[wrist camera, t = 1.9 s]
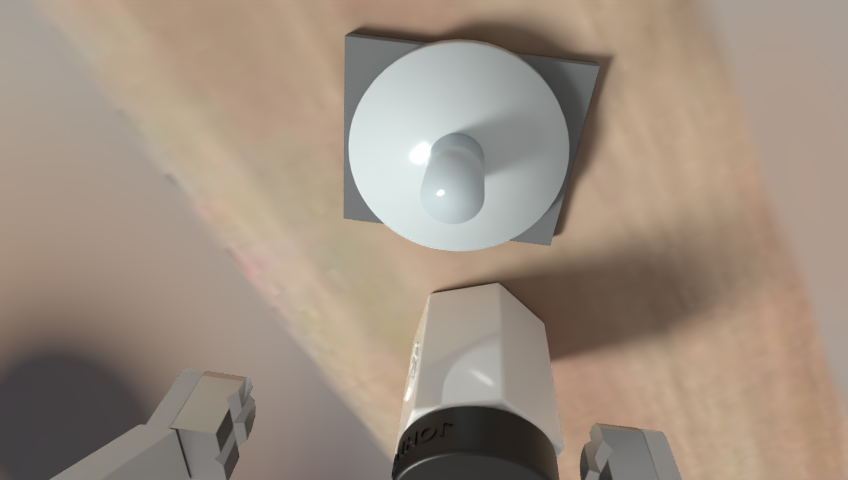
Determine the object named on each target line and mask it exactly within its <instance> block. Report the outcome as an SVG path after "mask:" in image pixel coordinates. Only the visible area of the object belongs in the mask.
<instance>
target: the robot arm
mask: <svg viewBox="0 0 848 480" xmlns="http://www.w3.org/2000/svg"><path fill="white" fill-rule="evenodd" d="M252 388H253V386H252V382H251V378H248V377H242V376H236V375H229V374H223V373H216V372H210V371H204V370H197V369H190V368H187V369H185V370H184V371H183V372H182V373H181V374H180V375H179V376H178V378H177V379H176V381H175V382H174V384H173V385H172V387H171V388H170V390H169V391H168V393H167V394H166V396H165V397H164V399H163V400H162V402H161V403H160V405H159V406H158V408H157V409H156V411H155V412H154V414H153V415H152V417H151V418H150V420H149V421H148V422H147V424H146V425H138V426H136V427H135V428H133V429H131V430H130V431H128V432H127V433H125V434H123V435H122V436H120V437H118V438H117V439H115V440H114V441H112V442H110V443H109V444H107V445H105V446H104V447H102V448H101V449H99V450H97V451H96V452H94V453H92V454H91V455H89V456H88V457H86V458H84V459H83V460H81V461H79V462H78V463H76V464H75V465H73V466H71V467H70V468H68V469H66V470H65V471H63V472H62V473H60V474H58V475H57V476H55V477H53V478H52V479H50V480H190V479H194V480H229V478H230V476H231V474H232V472H233V470H234V468H235V465H236V463H237V461H238V459H239V452H238V446H239V445H241V444H242V443H243V442H245V441H246V440H247V439H248V437H249V434H250V432H251V429H252V426H253V422H254V418H255V408H256V407H255V400H254V399H253V398H252V397H251V396H250V395H249V394H250V392H251V390H252ZM590 438H591V441H590V442H588V443H586V444H585V445H584V447H583V450H582V453H581V459H580V476H581V480H682V478H681V476H680V473H679V470H678V467H677V465H676V462H675V459H674V457H673V454H672V451H671V449H670V446H669V443H668V441H667V438H666V436H665V435H664V433H663V432H660V431H653V430H645V429H638V428H634V427H625V426H617V425H608V424H600V423H595V424H594V425H593V426H592V428H591V430H590Z"/></svg>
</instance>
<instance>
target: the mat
mask: <svg viewBox="0 0 848 480" xmlns="http://www.w3.org/2000/svg"><path fill="white" fill-rule="evenodd" d="M425 44H429V42H420V41H412V40H403V39H395V38H387V37H378V36H370V35H362V34H353V33H348V34H347V35H346V36H345V96H344V218H345V219H352V220H360V221H367V222H375V223H382V224H384V223H383V222H382V221H381V220H380V219H379V218H378V217H377V216H376V215H375V214H374V213H373V212H372V210H371V209H370V208H369V207H368V205H367V204H366V202H365V201H364V199H363V198H362V196H361V194H360V192H359V190H358V188H357V186H356V183H355V180H354V177H353V174H352V171H351V166H350V161H349V134H350V129H351V124H352V120H353V117H354V114H355V112H356V109H357V106H358V104H359V103H360V101H361V99H362V97H363V95H364V94H365V92H366V91H367V89H368V88H369V87H370V85H371V84H372V83H373V81H374V80H375V79H376V77H377V76H378V75H379V74H380V73H381V72H382V71H383V70H384V69H385V68H386V67H387V66H388V65H389V64H391V63H392V62H393V61H395V60H396V59H397V58H399V57H400V56H402V55H404V54H405V53H407V52H409V51H411V50H413V49H415V48H418V47H420V46H423V45H425ZM514 54H516V55H518V56H519V57H520V58H522V59H523V60H525V61H526V62H528V63H529V64H530V65H531V66H532V67H533V68H534V69H535V70H536V71H537V72H539V73H540V75H541V76H542V77H543V78H544V80H545V81H546V82H547V83H548V85H549V86H550V88H551V90H552V91H553V93H554V95H555V96H556V98H557V101H558V103H559V105H560V108H561V110H562V113H563V115H564V118H565V122H566V126H567V130H568V137H569V161H568V166H567V171H566V175H565V178H564V181H563V184H562V187H561V189H560V191H559V193H558V195H557V197H556V199H555V200H554V201H553V203H552V204H551V206H550V207H549V209H548V210H547V211H546V212H545V213H544V215H543V216H542V217H541V218H540V219H539V220H538V221H537V222H536V223H534V224H533V225H532V226H531V227H530V228H528V229H527V230H526V231H524V232H523V233H521V234H520V235H518V236H516V237H514V238H512V239H510V240H511V241H518V242H526V243H534V244H541V245H549V246H550V245H551V241H552V238H553V234H554V230H555V227H556V223H557V219H558V216H559V212H560V209H561V205H562V201H563V198H564V194H565V191H566V187H567V183H568V180H569V176H570V173H571V169H572V165H573V162H574V158H575V154H576V151H577V147H578V144H579V140H580V136H581V133H582V129H583V126H584V122H585V118H586V115H587V111H588V108H589V104H590V100H591V97H592V93H593V89H594V86H595V82H596V79H597V75H598V71H599V68H600V66H599V65H598V64H597V63H596V62H588V61H579V60H571V59H562V58H554V57H546V56H537V55H529V54H521V53H514Z"/></svg>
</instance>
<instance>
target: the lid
mask: <svg viewBox="0 0 848 480" xmlns="http://www.w3.org/2000/svg"><path fill="white" fill-rule="evenodd" d="M349 161H350V166H351V171H352V174H353V177H354V180H355V183H356V186H357V188H358V190H359V192H360V194H361V196H362V198H363V199H364V201H365V202H366V204H367V205H368V207H369V208H370V209H371V210H372V212H373V213H374V214H375V215H376V216H377V217H378V218H379V219H380V220H381V221H382V222H383V223H384V224H385V225H386V226H388V227H389V228H391V229H392V230H393V231H395V232H396V233H398V234H399V235H401V236H403V237H405V238H406V239H408V240H411V241H413V242H415V243H418V244H420V245H423V246H427V247H430V248H434V249H440V250H447V251H472V250H479V249H485V248H489V247H492V246H496V245H498V244H501V243H504V242H506V241H508V240H510V239H512V238H514V237H516V236H518V235H520V234H521V233H523V232H524V231H526V230H527V229H528V228H530V227H531V226H532V225H533V224H534V223H536V222H537V221H538V220H539V219H540V218H541V217H542V216H543V215H544V213H545V212H546V211H547V210H548V209H549V207H550V206H551V204H552V203H553V201H554V200H555V199H556V197H557V195H558V193H559V191H560V189H561V187H562V184H563V181H564V178H565V175H566V171H567V166H568V161H569V137H568V130H567V126H566V122H565V118H564V115H563V113H562V110H561V108H560V105H559V103H558V101H557V98H556V96H555V95H554V93H553V91H552V90H551V88H550V86H549V85H548V83H547V82H546V81H545V80H544V78H543V77H542V76H541V75H540V73H539V72H537V71H536V70H535V69H534V68H533V67H532V66H531V65H530V64H529V63H528V62H526V61H525V60H523V59H522V58H520V57H519V56H518V55H516V54H514V53H512V52H510V51H508V50H506V49H504V48H502V47H499V46H496V45H493V44H490V43H487V42H482V41H476V40H466V39H452V40H442V41H437V42H433V43H429V44H425V45H423V46H420V47H418V48H415V49H413V50H411V51H409V52H407V53H405V54H404V55H402V56H400V57H399V58H397V59H396V60H395V61H393V62H392V63H391V64H389V65H388V66H387V67H386V68H385V69H384V70H383V71H382V72H381V73H380V74H379V75H378V76H377V77H376V79H375V80H374V81H373V83H372V84H371V85H370V87H369V88H368V89H367V91H366V92H365V94H364V95H363V97H362V99H361V101H360V103H359V104H358V106H357V109H356V112H355V114H354V117H353V120H352V124H351V129H350V134H349Z"/></svg>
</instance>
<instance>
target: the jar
mask: <svg viewBox="0 0 848 480" xmlns="http://www.w3.org/2000/svg"><path fill="white" fill-rule="evenodd" d="M563 447H564V445H563V438H562V432H561V426H560V419H559V413H558V407H557V400H556V394H555V387H554V381H553V375H552V368H551V362H550V355H549V349H548V343H547V336H546V330H545V325H544V323H543V322H542V321H541V320H540V319H539V318H538V317H537V316H535V315H534V314H533V313H532V312H531V311H530V310H529V309H528V308H526V307H525V306H524V305H523V304H522V303H521V302H520V301H519V300H518V299H516V298H515V297H514V296H513V295H512V294H511V293H510V292H509V291H507V290H506V289H505V288H504V287H503V286H502V285H501V284H499V283H492V284H486V285H480V286H474V287H468V288H462V289H456V290H450V291H444V292H438V293H432V294H430V295H429V296H428V299H427V302H426V305H425V309H424V312H423V315H422V318H421V321H420V324H419V327H418V330H417V333H416V336H415V339H414V342H413V348H412V354H411V360H410V366H409V372H408V376H407V381H406V386H405V391H404V402H403V408H402V414H401V420H400V426H399V432H398V438H397V444H396V450H395V456H394V464H393V470H392V478H393V480H559V473H558V466H557V459H556V458H557V457H558V455H559V454H560V453H561V451H562V450H563Z"/></svg>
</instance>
